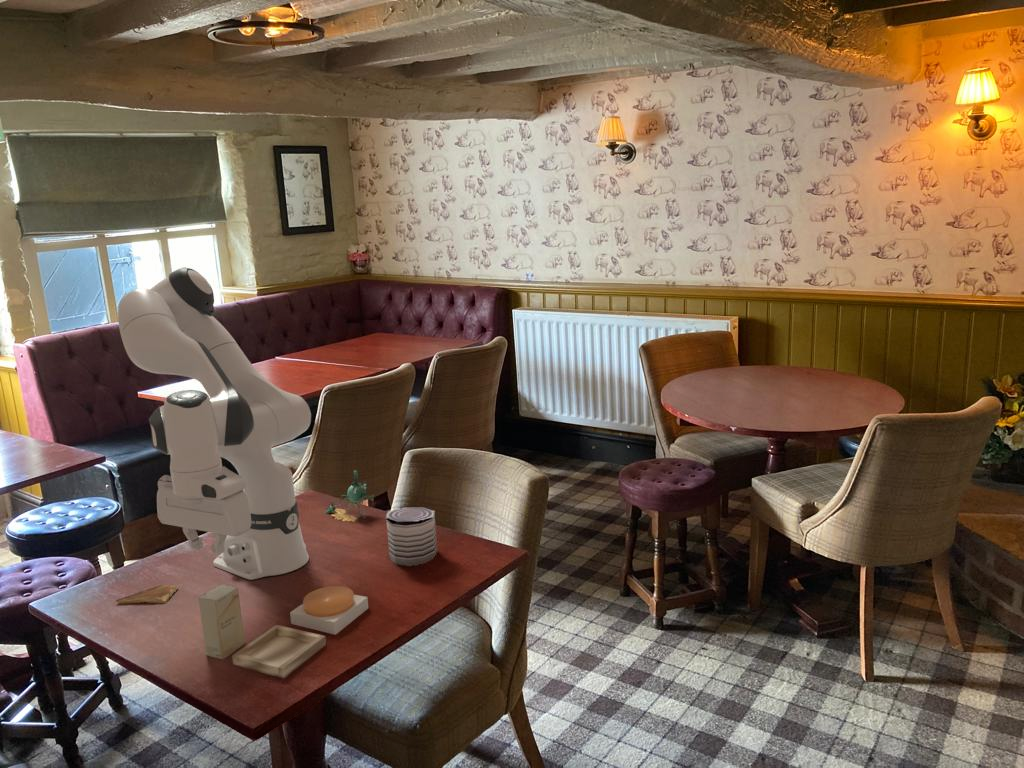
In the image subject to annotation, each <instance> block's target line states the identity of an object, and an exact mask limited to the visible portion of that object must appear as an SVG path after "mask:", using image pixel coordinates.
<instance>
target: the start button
mask: <svg viewBox="0 0 1024 768" xmlns="http://www.w3.org/2000/svg"><path fill="white" fill-rule="evenodd" d="M354 595H355V593H354V591H353V590H352V589H350V588H349V587H346V586H341V585H329V586H324V587H319V588H317V589H315V590H313V591H312V590H311V591H310V592H309V593H306V595H305V596H304V598H303V601H302V604H304V610H305V612H306V613H307V614H309V615H312V616H318V617H326V616H333V615H337V614H340V613H342V612H345V611H346V610H348V609H349V608H351V607H352V606H353V604H354Z"/></svg>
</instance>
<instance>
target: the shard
mask: <svg viewBox="0 0 1024 768" xmlns="http://www.w3.org/2000/svg"><path fill="white" fill-rule="evenodd" d="M177 589H178V590H179V586H178V585H162V584H161V585H158V586H154V587H152V588H149V589H148V588H147V589H145V590H142V591H139V592H136V593H133V594H131V595H128V596H125V597H122V598H119V599H115V602H117V604H118V605H125V603H126V604H142V603H143V604H145V603H144V602H147V603H146V604H152V603H153V604H165V603H167V602H168V600H169V599H170V598H171V597H172V596H173V595H174V594H175V593H176V592H177V591H178V590H177ZM176 590H177V591H176ZM174 592H175V593H174ZM173 593H174V594H173ZM172 594H173V595H172ZM169 597H170V598H169ZM141 602H142V603H141Z"/></svg>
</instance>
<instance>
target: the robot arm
mask: <svg viewBox="0 0 1024 768" xmlns="http://www.w3.org/2000/svg"><path fill="white" fill-rule="evenodd" d="M214 302H215V294H214V291H213V288H212V286H211V285H210V282H208V280H207V279H206V278H205V277H204V276H203V275H202V274H201V273H199V272H198V271H197V270H196V269H193V268H191V267H185V266H184V267H180V268H178V269H176V270H173V271H172V272H170V273H168V276H167V277H166V278H164V279H162V280H161V281H160V282H158V283H157V284H156V285H154V286H152V288H150V289H148V288H137V289H133V290H130V291H128V292H127V293H125V294H124V296H122V298H121V299H120V301H119V302H118V306H117V307H118V308H117V319H118V320H117V321H118V327H119V333H120V337H121V340H122V343H123V344H122V345H123V347H124V349H125V351H126V355H127V356H128V358H129V359H130V360H131V362H132V363H133V364H134V365H135V366H136V367H138V368H140V369H141V370H143V371H146V372H149V373H152V374H157V375H173V376H181V377H188V378H190V379H191V378H192V379H194V380H196V381H198V382H199V383H200V384H201V385H202V387H203V388H204V390H205V392H204V391H200V390H193V389H185V390H179V391H176V392H175V391H174V392H172V393H171V394H169V395H167V396H166V397H165V399H164V401H163V403H164V404H163V405H161V406H158V407H157V408H156V409H155V410H154V411H153V413H152V414H150V417H149V418H148V422H149V426H150V432H151V433H150V434H151V446H152V448H153V449H155V450H157V451H159V452H160V453H162V454H164V455H167V456H168V455H170V462H169V472H170V475H168V474H164V475H162V476H161V477H160V478H159V479H158V481H157V488H158V490H157V492H156V511H157V518H158V520H159V522H160V523H161V524H163V525H169V526H174V527H179V528H182V532H183V535H185V537H186V539H187V540H188V541H189V548H190V549H191V550H194V551H195V550H196V551H198V550H200V549H203V546H204V544H203V542H204V541H203V538H202V537H199V535H198V534H199V533H198V532H197V531H201V532H206V533H207V532H208V533H212V535H213V538H215V539H214V543H212V544H210V549H211V553H212V554H216V555H217V556H216V557H215V559H214V560H213V562H212V563H213V566H214V567H216V568H218V569H220V570H223V571H225V572H227V573H231V574H234V575H236V576H238V577H240V578H244V579H246V580H250V581H251V580H257V579H260V578H264V577H271V576H279V575H284V574H288V573H290V572H291V573H292V572H293V571H295V570H298V569H300V568H302V567H303V566H305V565H306V564H307V563H308V561H309V559H310V556H309V554H308V551H307V545H306V543H305V542H304V538H303V534H302V528H301V525H300V521H299V520H300V511H299V504H298V501H297V500H296V494H295V486H294V485H295V484H294V478H293V475H294V474H293V473H292V470H291V469H290V468H289V467H288V466H286V465H285V464H283V463H281V462H279V461H276V460H275V459H274V455H273V453H272V448H273V447H276V446H278V445H282V444H283V443H287V442H290V441H293V440H294V439H296V438H297V437H299V436H300V435H302V434H303V433H305V432H306V431H307V430H308V429H309V427H310V425H311V423H312V413H311V409H310V406H309V404H308V403H307V401H305V399H304V398H303V397H302V396H300V395H299V394H294V393H291V392H288V391H285V390H284V389H281V388H280V387H278V386H276V385H275V384H273V383H272V382H270V381H269V380H268V379H267V378H265V376H263V375H262V374H261V373H260V372H259V371H258V370H257V369H256V368H255V367H254V365H253V364H252V362H251V361H250V360H249V359H248V357H247V356H246V355H245V353H244V351H243V350H242V349H241V347H240V346H239V344H238V343H237V341H236V340H235V338H234V337H233V336H232V335H231V334H230V332H229V331H228V330H227V329H226V328H225V327H224V325H223V324H222V323H221V322H220V321H218V320H217V318H215V316H214V314H215V306H214ZM222 458H223V459H225V460H227V461H228V462H230V463H231V465H232V466H233V467H234V468H235V470H236V471H237V473H238V474H237V473H236V472H234V471H232V470H230V469H228V468H227V467H226V466H225V465H224V466H223V462H222Z"/></svg>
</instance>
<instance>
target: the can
mask: <svg viewBox="0 0 1024 768" xmlns="http://www.w3.org/2000/svg"><path fill="white" fill-rule="evenodd" d="M435 513H436V511H435V510H432V509H430V508H427V507H424V506H423V507H418V506H417V507H401V508H397V509H393V510H389V511H387V513H386V515H385V516H384V518H386V529H387V542H388V554H389V559H390V560H391V562H393V563H394V565H398V564H399V566H404V565H405V566H404V567H413V566H412V565H414V566H419V565H418V564H421V563H425V562H427V561H428V560H431V559H432V558H434V557H435V554H436V552H437V553H438V544H437V543H438V542H437V529H436V528H437V527H436V516H435V515H436V514H435ZM436 555H437V554H436ZM435 558H436V557H435ZM431 561H432V560H431ZM427 563H428V562H427ZM425 564H426V563H425Z"/></svg>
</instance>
